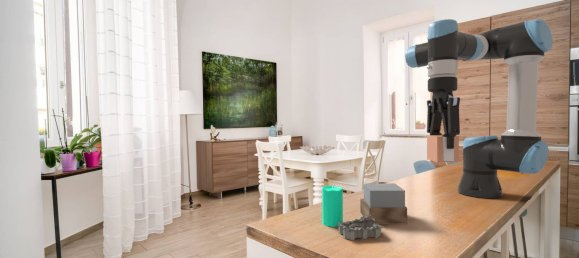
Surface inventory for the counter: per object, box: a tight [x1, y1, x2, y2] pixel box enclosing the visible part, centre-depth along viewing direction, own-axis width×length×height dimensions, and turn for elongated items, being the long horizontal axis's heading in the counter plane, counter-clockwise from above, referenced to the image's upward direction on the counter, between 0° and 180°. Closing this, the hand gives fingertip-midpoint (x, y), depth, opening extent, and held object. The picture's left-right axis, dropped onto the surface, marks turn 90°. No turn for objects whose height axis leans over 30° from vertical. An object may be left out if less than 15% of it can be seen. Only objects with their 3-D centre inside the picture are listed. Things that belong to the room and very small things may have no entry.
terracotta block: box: [426, 134, 460, 163], centre depth 87 cm, size 6×6×7 cm
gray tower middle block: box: [363, 182, 406, 208], centre depth 94 cm, size 10×10×5 cm
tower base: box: [359, 198, 408, 225], centre depth 95 cm, size 11×11×5 cm
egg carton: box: [338, 215, 384, 241], centre depth 81 cm, size 11×8×4 cm
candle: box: [321, 182, 344, 228], centre depth 90 cm, size 6×6×12 cm
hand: (441, 159), depth 87 cm, fingers closed on terracotta block, 6 cm apart
